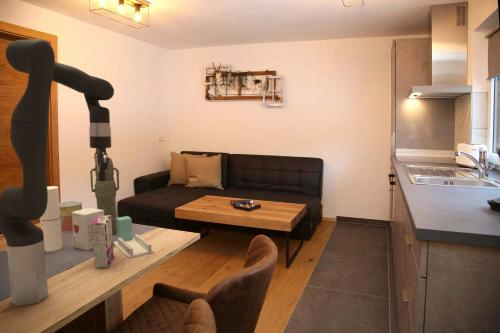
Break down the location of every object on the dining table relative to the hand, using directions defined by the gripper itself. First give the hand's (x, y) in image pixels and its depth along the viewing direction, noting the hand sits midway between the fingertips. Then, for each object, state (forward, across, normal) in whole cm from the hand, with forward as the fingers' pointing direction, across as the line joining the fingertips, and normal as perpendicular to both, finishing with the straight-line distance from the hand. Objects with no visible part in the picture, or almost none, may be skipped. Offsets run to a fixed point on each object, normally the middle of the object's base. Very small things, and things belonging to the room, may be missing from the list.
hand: (101, 180), depth 140 cm
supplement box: (+29, +14, +3) cm, 32 cm away
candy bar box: (+29, -8, +2) cm, 30 cm away
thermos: (+28, +26, -8) cm, 39 cm away
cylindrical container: (+29, +19, +16) cm, 38 cm away
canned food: (+28, +45, +5) cm, 53 cm away
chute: (+28, +1, -11) cm, 31 cm away
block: (+27, +11, -11) cm, 31 cm away
